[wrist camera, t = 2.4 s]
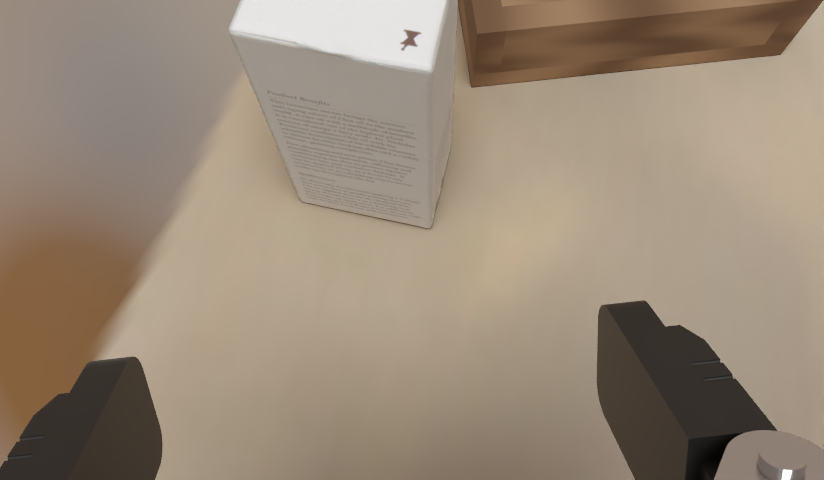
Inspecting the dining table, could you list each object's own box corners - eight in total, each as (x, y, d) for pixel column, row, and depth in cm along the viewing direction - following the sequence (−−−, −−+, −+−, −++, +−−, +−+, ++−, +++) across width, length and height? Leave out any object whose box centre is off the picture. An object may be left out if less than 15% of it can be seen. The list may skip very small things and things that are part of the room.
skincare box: (452, 144, 32) (467, -48, 21) (431, 232, 31) (435, 75, 20) (321, 118, 33) (267, -84, 22) (294, 203, 31) (222, 34, 20)
